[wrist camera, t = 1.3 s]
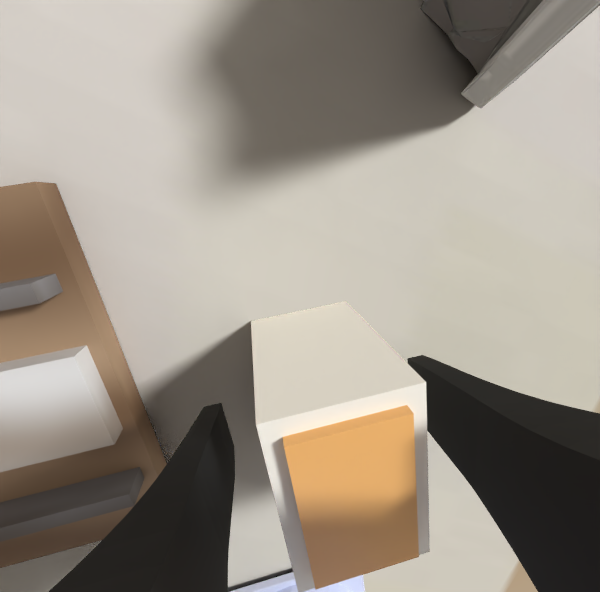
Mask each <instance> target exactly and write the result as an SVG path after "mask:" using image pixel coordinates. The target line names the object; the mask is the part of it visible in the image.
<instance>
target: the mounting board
mask: <svg viewBox="0 0 600 592" xmlns="http://www.w3.org/2000/svg"><path fill="white" fill-rule="evenodd" d="M166 465H167V463H166V460H165V458H164V455H163V453H162V450H161V448H160V445H159V443H158V440H157V438H156V435H155V433H154V430H153V428H152V425H151V423H150V420H149V417H148V415H147V412H146V410H145V407H144V405H143V402H142V400H141V397H140V395H139V392H138V390H137V387H136V385H135V382H134V380H133V377H132V375H131V372H130V369H129V367H128V364H127V362H126V359H125V357H124V354H123V352H122V349H121V347H120V344H119V342H118V339H117V337H116V334H115V332H114V329H113V327H112V324H111V321H110V319H109V316H108V314H107V311H106V309H105V306H104V304H103V301H102V299H101V296H100V294H99V291H98V289H97V286H96V284H95V281H94V279H93V276H92V273H91V271H90V268H89V266H88V263H87V261H86V258H85V256H84V253H83V251H82V248H81V246H80V243H79V241H78V238H77V236H76V233H75V230H74V228H73V225H72V223H71V220H70V218H69V215H68V213H67V210H66V208H65V205H64V203H63V200H62V198H61V195H60V193H59V190H58V188H57V185H56V184H55V183H43V182H31V183H24V184H18V185H11V186H4V187H0V568H2V567H6V566H9V565H13V564H17V563H20V562H24V561H27V560H31V559H35V558H38V557H42V556H46V555H49V554H53V553H56V552H60V551H64V550H67V549H71V548H75V547H78V546H82V545H85V544H89V543H93V542H96V541H100V540H103V539H104V538H105V537H106V536H107V535H108V534H109V533H110V532H111V531H112V530H113V528H114V527H115V526H116V525H117V524H118V523H119V522H120V521H121V520H122V519H123V518H124V517H125V516H126V515H127V514H128V512H129V511H130V510H131V509H132V508H133V507H134V506H135V504H136V503H137V502H138V501H139V500H140V498H141V497H142V496H143V495H144V494H145V493H146V491H147V490H148V489H149V488H150V486H151V485H152V484H153V482H154V481H155V480H156V478H157V477H158V476H159V474H160V473H161V472H162V470H163V469H164V467H165V466H166Z"/></svg>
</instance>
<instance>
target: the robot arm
mask: <svg viewBox="0 0 600 592" xmlns="http://www.w3.org/2000/svg"><path fill="white" fill-rule="evenodd" d="M408 364H409V365H410V366H411V367H412V368H413V369H414V370H415V371H416V372H417V373H418V374H419V375H420V376H421V377H422V378H423V379H424V380H425V382H426V397H427V430H428V432H429V433H430V434H431V435H432V437H433V438H434V439H435V441H436V442H437V443H438V444H439V446H440V447H441V448H442V449H443V451H444V452H445V453H446V454H447V456H448V457H449V458H450V459H451V461H452V462H453V463H454V464H455V466H456V467H457V468H458V469H459V471H460V472H461V473H462V474H463V476H464V477H465V478H466V480H467V481H468V482H469V484H470V485H471V486H472V488H473V489H474V490H475V492H476V493H477V495H478V496H479V498H480V499H481V501H482V502H483V504H484V505H485V507H486V508H487V510H488V512H489V513H490V515H491V516H492V518H493V519H494V521H495V522H496V524H497V525H498V527H499V529H500V530H501V532H502V533H503V535H504V536H505V538H506V540H507V541H508V543H509V544H510V546H511V548H512V549H513V551H514V552H515V554H516V556H517V557H518V559H519V561H520V562H521V564H522V566H523V567H524V569H525V570H526V572H527V574H528V576H529V577H530V579H531V581H532V582H533V584H534V586H535V587H536V589H537V591H538V592H600V414H599V413H594V412H590V411H585V410H581V409H577V408H572V407H568V406H564V405H560V404H556V403H552V402H548V401H545V400H541V399H538V398H535V397H531V396H528V395H525V394H521V393H518V392H515V391H512V390H509V389H507V388H504V387H501V386H498V385H495V384H493V383H490V382H487V381H485V380H482V379H480V378H477V377H475V376H472V375H470V374H467V373H465V372H463V371H460V370H458V369H455V368H453V367H451V366H448V365H446V364H444V363H441V362H439V361H437V360H434V359H432V358H429V357H426V356H423V355H421V356H417V357H412V358H408ZM234 480H235V459H234V445H233V441H232V438H231V434H230V431H229V428H228V424H227V421H226V417H225V414H224V411H223V407H222V404H221V403H219V404H215V405H211V406H206V407H204V408H203V410H202V411H201V413H200V414H199V416H198V417H197V419H196V421H195V422H194V424H193V426H192V427H191V429H190V430H189V432H188V434H187V435H186V437H185V438H184V440H183V441H182V443H181V444H180V446H179V447H178V449H177V450H176V452H175V453H174V455H173V456H172V458H171V459H170V461H169V462H168V463H167V465H166V466H165V467H164V469H163V470H162V472H161V473H160V474H159V476H158V477H157V478H156V480H155V481H154V482H153V484H152V485H151V486H150V488H149V489H148V490H147V491H146V493H145V494H144V495H143V496H142V497H141V498H140V500H139V501H138V502H137V503H136V504H135V506H134V507H133V508H132V509H131V510H130V511H129V512H128V514H127V515H126V516H125V517H124V518H123V519H122V520H121V521H120V522H119V523H118V524H117V525H116V526H115V527H114V528H113V530H112V531H111V532H110V533H109V534H108V535H107V536H106V537H105V538H104V539H103V540H102V541H101V542H100V543H99V544H98V545H97V546H96V547H95V548H94V549H93V550H92V551H91V552H90V553H89V554H88V555H87V556H86V557H85V558H84V559H83V560H82V561H81V562H80V563H79V564H78V565H77V566H76V567H75V568H74V569H73V570H72V571H71V572H69V573H68V574H67V575H66V576H65V577H64V578H63V579H62V580H61V581H60V582H59V583H58V584H57V585H55V586H54V587H53V588H52V589H51V590H50V591H49V592H228V548H229V536H230V525H231V514H232V503H233V492H234ZM229 592H298V589H297V585H296V581H295V577H294V573H293V572H291V573H288V574H285V575H281V576H278V577H275V578H272V579H268V580H265V581H262V582H259V583H255V584H252V585H249V586H246V587H242V588H239V589H236V590H233V591H229ZM304 592H365V588H364V581H363V575H360V576H357V577H354V578H351V579H348V580H344V581H341V582H338V583H335V584H332V585H329V586H326V587H323V588H319V589H315V588H313V589H310V590H307V591H304Z"/></svg>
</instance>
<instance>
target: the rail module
mask: <svg viewBox="0 0 600 592" xmlns="http://www.w3.org/2000/svg"><path fill="white" fill-rule="evenodd" d="M251 333H252V354H253V374H254V395H255V416H256V427H257V431H258V435H259V439H260V443H261V447H262V451H263V455H264V459H265V463H266V467H267V470H268V474H269V478H270V482H271V486H272V490H273V494H274V498H275V502H276V506H277V510H278V514H279V518H280V522H281V526H282V530H283V534H284V538H285V542H286V546H287V549H288V553H289V557H290V561H291V565H292V569H293V573H294V577H295V581H296V585H297V589H298V592H304V591H307V590H310V589H313V588H315V589H319V588H323V587H326V586H329V585H332V584H335V583H338V582H341V581H344V580H348V579H351V578H354V577H357V576H360V575H363V574H366V573H370V572H373V571H376V570H379V569H382V568H385V567H388V566H392V565H395V564H398V563H401V562H404V561H407V560H410V559H413V558H417V557H419V555H420V554H423V553H426V552H430V548H429V498H428V448H427V397H426V382H425V380H424V379H423V378H422V377H421V376H420V375H419V374H418V373H417V372H416V371H415V370H414V369H413V368H412V367H411V366H410V365H409V364H408V363H407V362H406V361H405V360H404V359H403V358H402V357H401V356H400V355H399V354H398V353H397V352H396V351H395V350H394V349H393V348H392V347H391V346H390V345H389V344H388V343H387V342H386V341H385V340H384V339H383V338H382V337H381V336H380V335H379V334H378V333H377V332H376V331H375V330H374V329H373V328H372V327H371V326H370V325H369V324H368V323H367V322H366V321H365V320H364V319H363V318H362V317H361V316H360V315H359V314H358V313H357V312H356V311H355V310H354V309H353V308H352V307H351V306H350V304H349V303H348V302H347V301H343V302H339V303H334V304H329V305H324V306H320V307H315V308H310V309H305V310H301V311H296V312H291V313H286V314H282V315H277V316H272V317H267V318H262V319H258V320H253V321H251Z"/></svg>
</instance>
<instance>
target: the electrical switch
mask: <svg viewBox="0 0 600 592" xmlns="http://www.w3.org/2000/svg"><path fill="white" fill-rule="evenodd" d="M598 6H600V0H424V2H423V4H422V6H421V10H422V11H424V12H425V13H426V14H427V15H428V16H429V17H430V18H431V19H432V20H433V21H434V22H435V23H436V24H437V25H438V26H439V27H440V28H441V29H442V30H443V31H444V32H445V33H446V34H447V35H448V36H449V38H450V40H451V41H452V43H453V44H454V46H455V48H456V49H457V50H458V51H459V52H460V53H461V54H463V55H464V56H465V57H466V58H467V59H468V60H469V61H470V62H471V64H472V66H473V67H474V69H475V70H476V72H477V73H478V74H477V75H476V76H475V77H474V79H473V80H472V81H471V82H470V83H469V84H468V85H467V87H466V88H465V89H464V90H463V91H462V95H463V96H464V97H465V98H466V99H468V100H469V101H470V102H472V103H473V104H474V105H476V106H477V107H479V108H482V107H483V106H485V105H486V104H487V103H488V102H489V101H491V100H492V99H493V98H494V97H496V96H497V95H498V94H499V93H501V92H502V91H503V90H504V89H506V88H507V87H508V86H509V85H511V84H512V83H513V82H514V81H515V80H517V79H518V78H519V77H520V76H521V75H522V74H523V73H524V72H526V71H527V70H528V69H529V68H530V67H531V66H532V65H533V64H535V63H536V62H537V61H538V60H539V59H540V58H541V57H542V56H543V55H545V54H546V53H547V52H548V51H549V50H550V49H551V48H552V47H554V46H555V45H556V44H557V43H558V42H559V41H560V40H561V39H563V38H564V37H565V36H566V35H567V34H568V33H569V32H570V31H572V30H573V29H574V28H575V27H576V26H577V25H578V24H579V23H580V22H582V21H583V20H584V19H585V18H586V17H587V16H588V15H589V14H591V13H592V12H593V11H594V10H595V9H596V8H597V7H598Z"/></svg>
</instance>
